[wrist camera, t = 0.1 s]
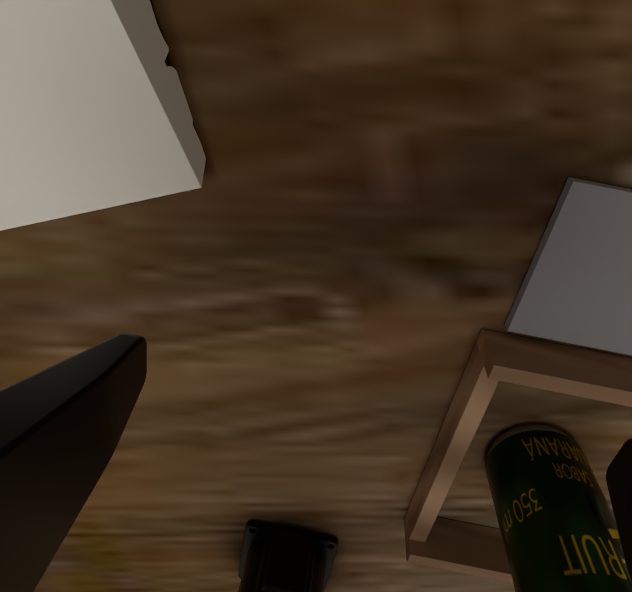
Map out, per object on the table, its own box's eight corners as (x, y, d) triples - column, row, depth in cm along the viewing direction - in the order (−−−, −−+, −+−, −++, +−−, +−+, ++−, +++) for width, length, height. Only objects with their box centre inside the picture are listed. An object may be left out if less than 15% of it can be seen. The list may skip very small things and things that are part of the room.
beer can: (556, 493, 30) (652, 744, 20) (470, 476, 30) (520, 718, 20) (596, 430, 27) (731, 683, 17) (501, 411, 27) (578, 652, 17)
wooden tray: (694, 576, 33) (722, 624, 30) (404, 518, 33) (406, 561, 30) (862, 403, 25) (918, 448, 22) (481, 328, 25) (494, 365, 22)
